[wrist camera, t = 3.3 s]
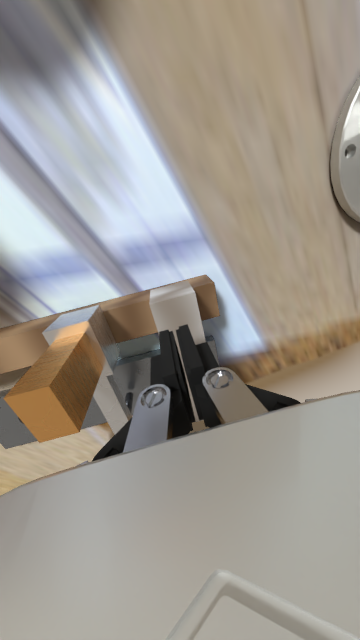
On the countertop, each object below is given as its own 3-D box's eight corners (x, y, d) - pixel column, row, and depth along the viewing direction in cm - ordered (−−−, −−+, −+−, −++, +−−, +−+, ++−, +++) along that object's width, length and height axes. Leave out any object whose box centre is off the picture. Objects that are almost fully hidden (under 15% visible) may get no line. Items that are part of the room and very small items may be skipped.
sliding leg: (104, 297, 17) (52, 370, 8) (146, 398, 22) (140, 510, 13) (69, 306, 17) (-19, 389, 8) (119, 405, 22) (95, 522, 13)
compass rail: (204, 267, 19) (225, 284, 13) (222, 367, 24) (244, 412, 18) (-85, 342, 19) (-190, 393, 13) (-6, 428, 24) (-57, 492, 18)
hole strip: (212, 335, 22) (214, 340, 21) (221, 384, 25) (224, 391, 24) (-27, 398, 22) (-36, 406, 21) (11, 440, 25) (5, 449, 24)
